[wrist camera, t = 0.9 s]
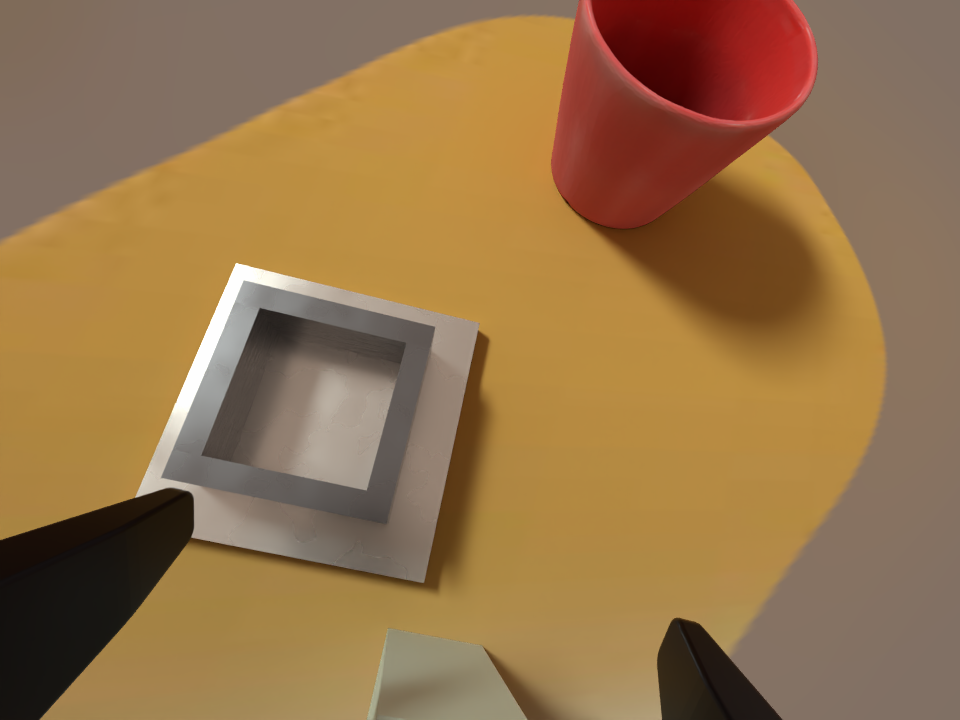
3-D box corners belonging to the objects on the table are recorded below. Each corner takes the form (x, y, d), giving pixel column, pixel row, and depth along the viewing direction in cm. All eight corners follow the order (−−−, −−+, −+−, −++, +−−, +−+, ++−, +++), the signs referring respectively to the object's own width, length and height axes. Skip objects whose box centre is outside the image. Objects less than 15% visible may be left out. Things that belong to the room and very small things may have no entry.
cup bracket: (423, 580, 20) (427, 594, 17) (134, 523, 19) (73, 525, 16) (477, 328, 24) (490, 296, 21) (241, 271, 23) (212, 227, 20)
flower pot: (521, 240, 26) (584, 94, 17) (529, 92, 30) (585, -93, 21) (696, 267, 28) (841, 145, 19) (683, 123, 31) (800, -39, 22)
